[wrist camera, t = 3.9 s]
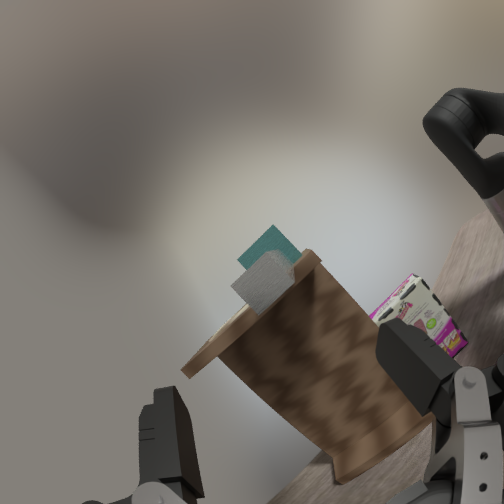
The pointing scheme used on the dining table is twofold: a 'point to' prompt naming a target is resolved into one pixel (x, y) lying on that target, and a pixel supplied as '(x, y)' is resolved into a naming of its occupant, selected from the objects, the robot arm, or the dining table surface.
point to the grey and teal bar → (266, 270)
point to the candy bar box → (422, 314)
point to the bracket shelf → (318, 370)
